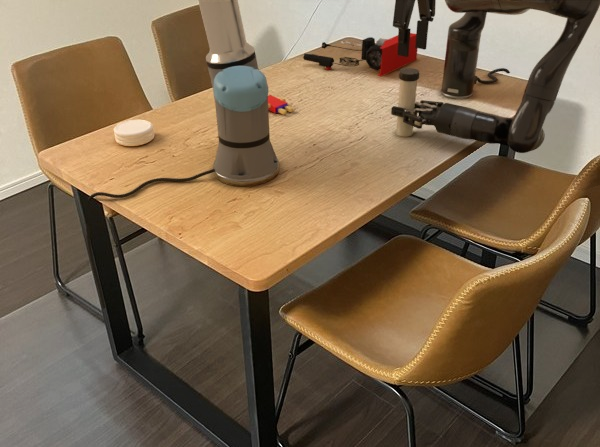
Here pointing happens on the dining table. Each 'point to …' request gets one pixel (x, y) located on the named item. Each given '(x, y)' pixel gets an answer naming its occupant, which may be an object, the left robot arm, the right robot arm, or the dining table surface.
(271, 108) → the toy figure
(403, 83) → the beige long cylinder
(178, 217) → the dining table surface
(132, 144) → the white short cylinder
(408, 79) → the lid
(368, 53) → the electric hoist
